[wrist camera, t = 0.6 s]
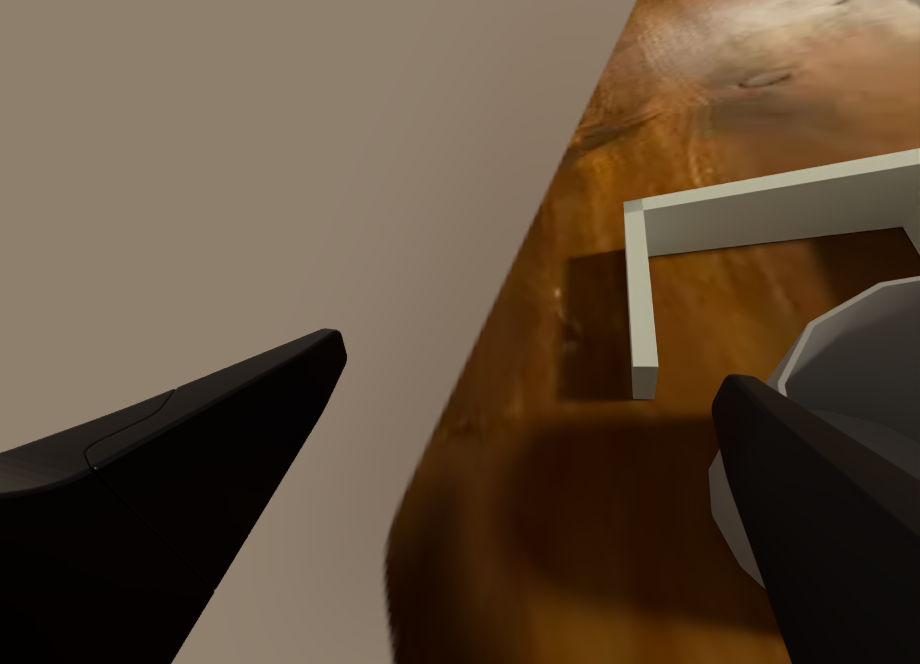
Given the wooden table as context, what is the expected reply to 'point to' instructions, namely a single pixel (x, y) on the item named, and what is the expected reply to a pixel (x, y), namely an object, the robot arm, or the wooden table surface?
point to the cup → (848, 388)
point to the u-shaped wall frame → (760, 225)
